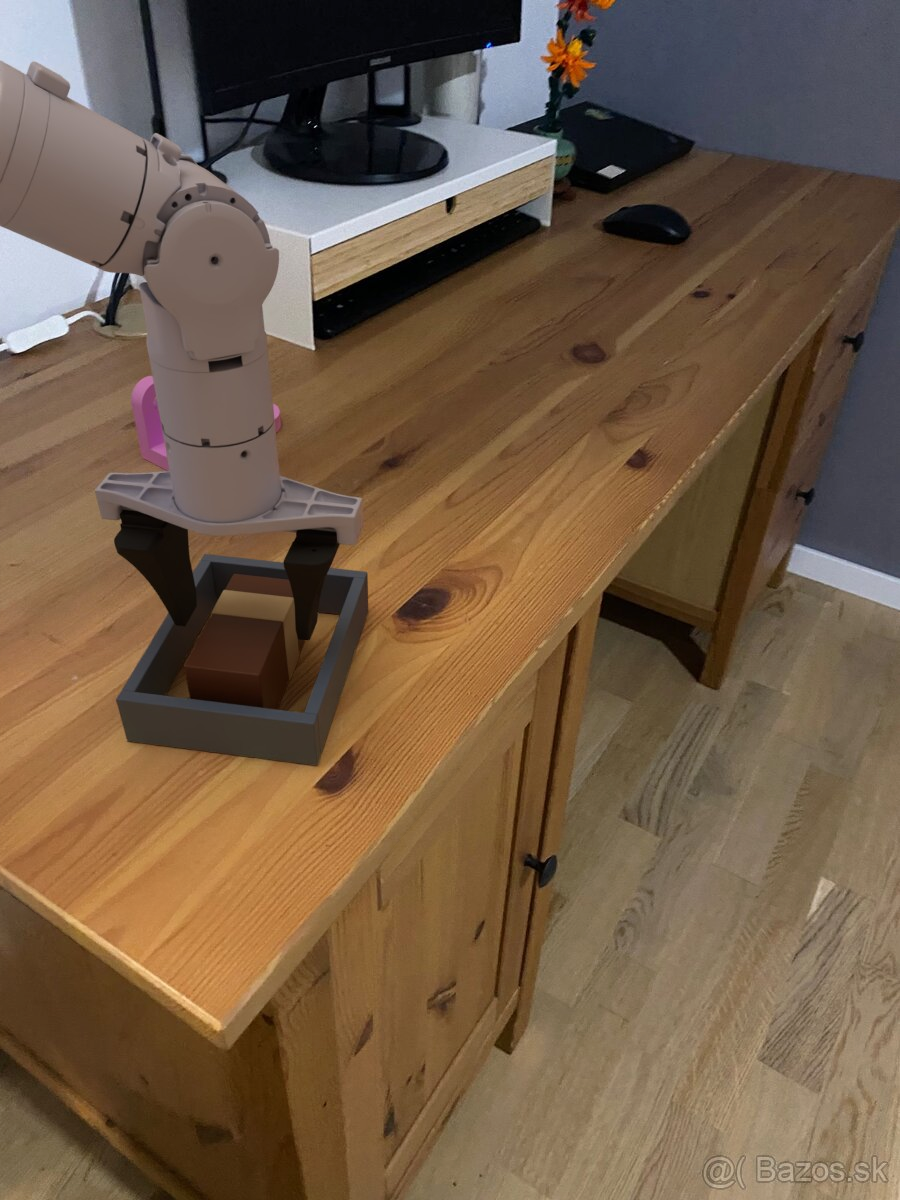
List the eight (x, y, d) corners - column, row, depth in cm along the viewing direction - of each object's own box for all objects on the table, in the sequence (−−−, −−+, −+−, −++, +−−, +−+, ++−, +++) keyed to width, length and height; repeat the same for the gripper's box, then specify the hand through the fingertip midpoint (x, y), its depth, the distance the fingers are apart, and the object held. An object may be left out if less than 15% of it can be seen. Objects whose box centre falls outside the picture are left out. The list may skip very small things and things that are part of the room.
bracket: (183, 479, 78) (171, 404, 73) (142, 457, 80) (127, 384, 76) (293, 425, 86) (287, 354, 81) (252, 407, 88) (244, 338, 84)
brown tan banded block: (194, 727, 55) (181, 665, 52) (241, 632, 62) (232, 572, 59) (268, 736, 55) (260, 674, 52) (306, 639, 62) (301, 580, 59)
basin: (126, 741, 54) (115, 699, 52) (210, 592, 65) (203, 553, 63) (317, 766, 53) (314, 724, 51) (368, 611, 64) (367, 571, 62)
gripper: (371, 399, 50) (376, 595, 58) (116, 376, 51) (157, 571, 59) (342, 463, 44) (352, 669, 52) (56, 435, 45) (111, 641, 54)
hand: (246, 622), depth 56 cm, fingers open, 7 cm apart
